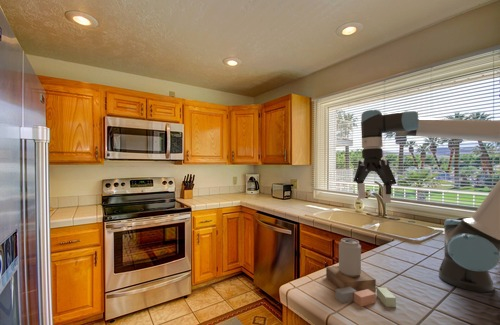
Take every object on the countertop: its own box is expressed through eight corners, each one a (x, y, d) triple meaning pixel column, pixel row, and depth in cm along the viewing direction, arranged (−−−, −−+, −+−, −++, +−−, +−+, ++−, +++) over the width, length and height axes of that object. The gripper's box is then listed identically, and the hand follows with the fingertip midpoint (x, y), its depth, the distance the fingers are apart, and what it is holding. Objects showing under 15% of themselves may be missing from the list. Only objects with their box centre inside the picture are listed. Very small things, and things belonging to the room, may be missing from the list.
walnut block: (354, 274, 93) (354, 264, 93) (375, 291, 81) (375, 279, 81) (326, 277, 90) (326, 267, 90) (344, 294, 79) (344, 282, 79)
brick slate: (350, 295, 78) (350, 286, 78) (356, 300, 75) (357, 291, 75) (335, 298, 76) (335, 289, 76) (341, 303, 73) (341, 294, 74)
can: (354, 268, 89) (355, 237, 89) (365, 277, 82) (365, 243, 82) (335, 268, 89) (335, 237, 89) (344, 278, 82) (344, 243, 82)
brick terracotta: (367, 298, 77) (367, 289, 77) (375, 303, 74) (375, 293, 74) (353, 301, 75) (353, 292, 75) (361, 307, 72) (361, 297, 72)
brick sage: (376, 296, 78) (376, 287, 78) (386, 296, 78) (386, 287, 78) (385, 307, 72) (385, 297, 72) (395, 307, 72) (395, 297, 72)
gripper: (344, 150, 107) (345, 197, 106) (389, 145, 82) (391, 205, 82) (358, 150, 108) (360, 196, 108) (406, 145, 84) (408, 204, 83)
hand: (373, 200), depth 95 cm, fingers open, 13 cm apart
